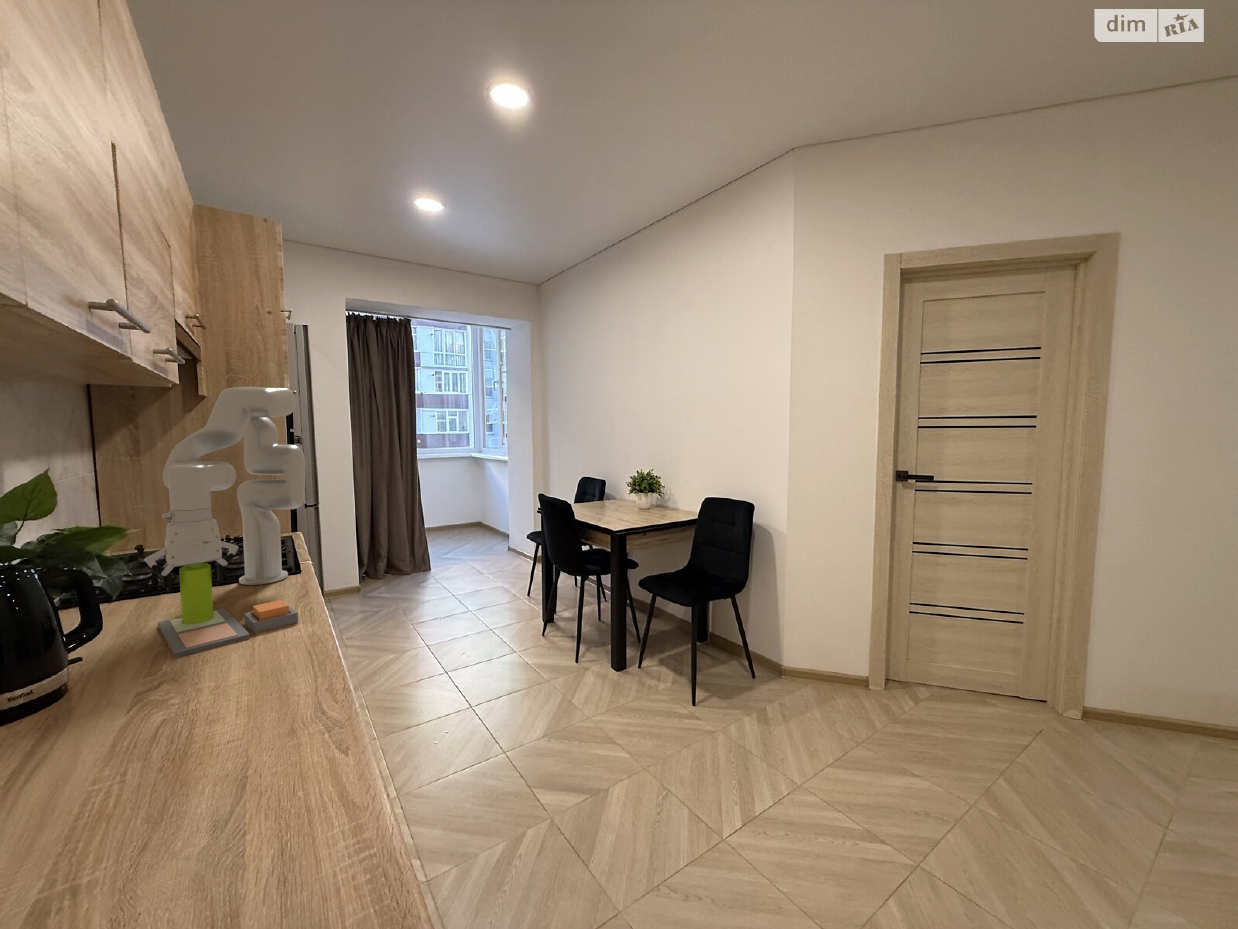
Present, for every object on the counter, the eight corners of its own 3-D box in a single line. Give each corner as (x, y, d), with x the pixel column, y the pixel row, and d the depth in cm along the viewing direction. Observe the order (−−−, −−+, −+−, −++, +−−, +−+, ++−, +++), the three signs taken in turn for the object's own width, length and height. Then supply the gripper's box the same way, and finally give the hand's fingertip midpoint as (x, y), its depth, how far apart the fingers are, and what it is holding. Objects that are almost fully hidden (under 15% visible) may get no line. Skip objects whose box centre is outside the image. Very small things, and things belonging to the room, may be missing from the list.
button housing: (244, 623, 125) (244, 613, 124) (286, 613, 131) (286, 603, 131) (254, 633, 119) (254, 623, 118) (298, 622, 125) (297, 612, 125)
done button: (253, 614, 125) (252, 606, 124) (281, 607, 129) (281, 599, 129) (259, 620, 121) (259, 612, 120) (288, 613, 125) (288, 605, 125)
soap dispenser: (204, 624, 120) (200, 542, 118) (175, 623, 121) (170, 541, 119) (223, 615, 126) (220, 536, 124) (196, 614, 126) (192, 535, 124)
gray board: (158, 626, 122) (158, 621, 122) (225, 611, 132) (225, 607, 132) (174, 657, 106) (174, 652, 106) (249, 638, 116) (249, 633, 116)
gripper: (144, 523, 112) (149, 598, 113) (239, 513, 125) (243, 581, 126) (140, 518, 117) (145, 590, 118) (232, 509, 130) (235, 574, 131)
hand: (195, 585), depth 122 cm, fingers open, 9 cm apart
